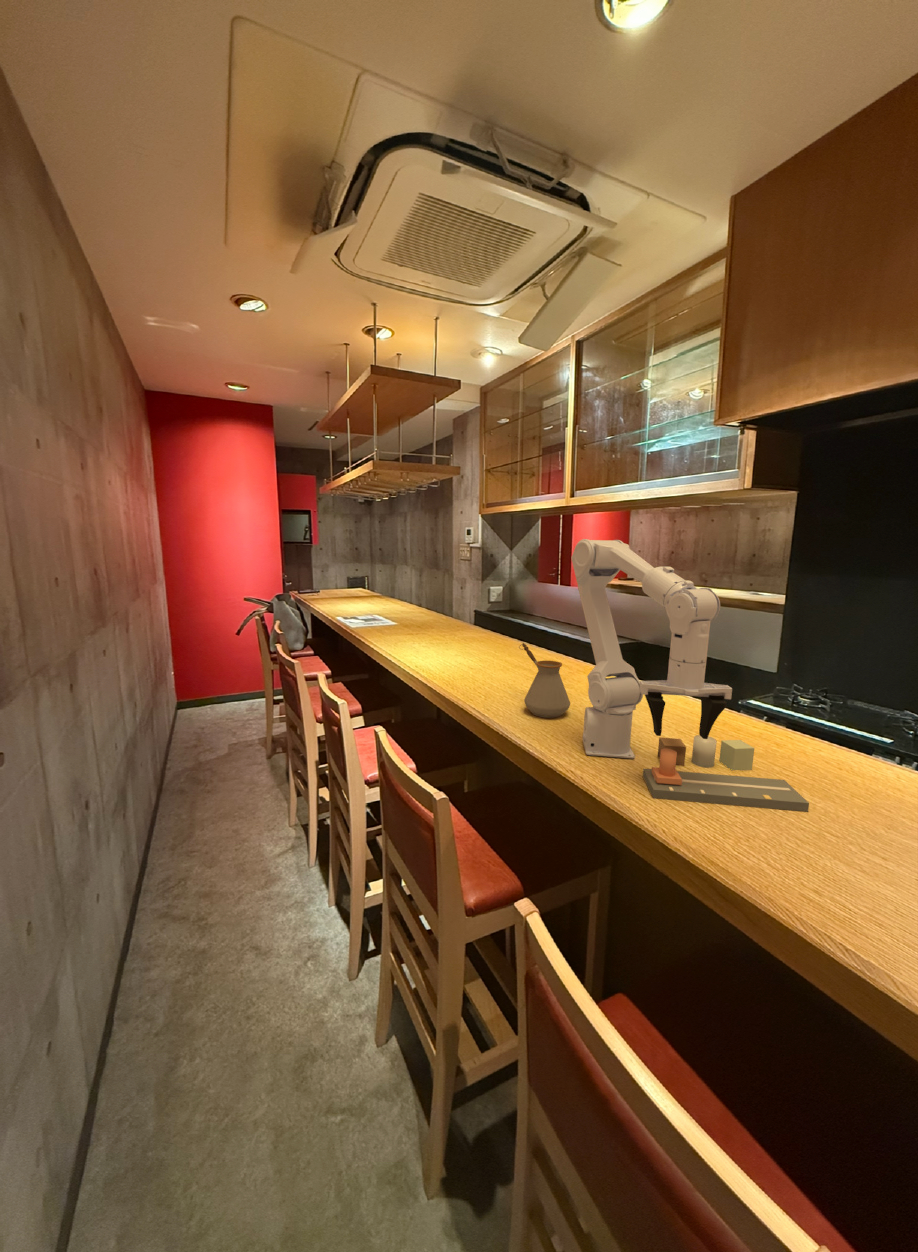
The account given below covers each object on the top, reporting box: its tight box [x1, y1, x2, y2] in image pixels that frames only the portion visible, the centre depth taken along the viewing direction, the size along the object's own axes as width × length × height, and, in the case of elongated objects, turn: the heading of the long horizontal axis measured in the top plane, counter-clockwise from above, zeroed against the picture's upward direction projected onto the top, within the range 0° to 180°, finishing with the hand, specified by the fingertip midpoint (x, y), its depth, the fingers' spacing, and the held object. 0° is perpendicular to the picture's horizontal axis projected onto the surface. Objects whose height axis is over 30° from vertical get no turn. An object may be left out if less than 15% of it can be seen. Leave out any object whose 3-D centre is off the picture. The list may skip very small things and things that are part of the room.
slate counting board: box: [642, 767, 810, 813], centre depth 84 cm, size 24×8×2 cm, turn 81°
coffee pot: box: [518, 642, 571, 719], centre depth 127 cm, size 21×12×15 cm, turn 18°
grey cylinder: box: [691, 734, 717, 769], centre depth 96 cm, size 4×4×5 cm
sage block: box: [718, 739, 755, 772], centre depth 95 cm, size 4×4×4 cm
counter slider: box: [651, 749, 682, 785], centre depth 85 cm, size 4×4×5 cm
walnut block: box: [657, 736, 687, 767], centre depth 97 cm, size 4×4×4 cm
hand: (680, 735), depth 85 cm, fingers open, 7 cm apart
